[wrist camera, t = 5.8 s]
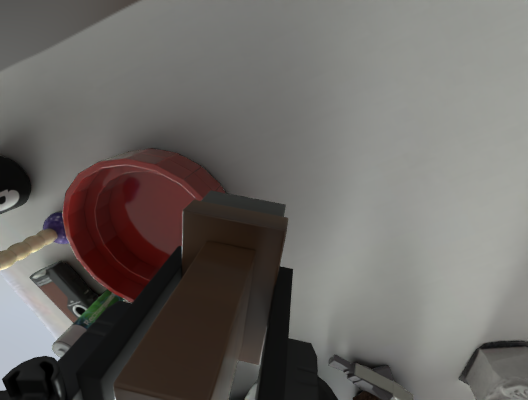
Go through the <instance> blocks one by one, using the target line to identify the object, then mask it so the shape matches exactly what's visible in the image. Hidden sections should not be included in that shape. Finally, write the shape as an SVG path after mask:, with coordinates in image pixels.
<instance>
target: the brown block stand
mask: <svg viewBox="0 0 528 400" xmlns="http://www.w3.org/2000/svg"><path fill="white" fill-rule="evenodd" d="M285 207H286V205H285V204H280V203H275V202H269V201H264V200H259V199H253V198H248V197H243V196H237V195H232V194H227V193H221V192H216V191H210V192H209V193H208V194H207V195H206V196H205V197H204V198H203V199H202V200H201V201H198V200H193V201H192V202H191V203H190V204H189V205H188V206H187V207H186V208H185V209H183V212H182V279H181V280H180V282H179V284H178V285H177V287H176V288H175V290H174V291H173V293H172V294H171V296H170V297H169V299H168V300H167V302H166V303H165V305H164V307H163V308H162V310H161V311H160V313H159V314H158V316H157V317H156V319H155V320H154V322H153V323H152V325H151V326H150V328H149V329H148V331H147V333H146V334H145V336H144V337H143V339H142V340H141V342H140V343H139V345H138V346H137V348H136V349H135V351H134V352H133V354H132V356H131V357H130V359H129V360H128V362H127V363H126V365H125V366H124V368H123V369H122V371H121V372H120V374H119V375H118V377H117V378H116V380H115V382H114V384H113V389H114V396H115V400H228V399H229V395H230V391H231V387H232V383H233V379H234V375H235V371H236V367H237V363H238V360H239V361H243V362H247V363H252V364H256V365H260V361H261V356H262V351H263V345H264V339H265V333H266V327H267V322H268V317H269V312H270V307H271V302H272V297H273V292H274V287H275V285H276V282H277V277H278V272H279V267H280V262H281V257H282V252H283V247H284V242H285V237H286V232H287V225H288V218H287V217H284V213H285Z"/></svg>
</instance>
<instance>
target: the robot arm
mask: <svg viewBox="0 0 528 400" xmlns="http://www.w3.org/2000/svg"><path fill="white" fill-rule="evenodd" d="M292 275H293V269H290V268H285V267H281V266H280V267H279V272H278V277H277V282H276V285H275V287H274V292H273V297H272V302H271V307H270V312H269V317H268V322H267V327H266V333H265V339H264V345H263V352H262V358H261V364H260V370H259V376H258V382H257V389H256V395H255V400H319V392H318V375H317V372H318V370H317V356H316V354H315V351H314V349H313V347H312V344H311V343H307V342H303V341H298V340H294V339H289V338H288V335H289V320H290V305H291V290H292ZM181 279H182V246H178V247H177V248H176V250H175V251H174V252H173V253H172V254H171V256H170V257H169V258H168V259H167V261H166V262H165V263H164V264H163V266H162V267H161V268H160V269H159V270H158V272H157V273H156V274H155V275H154V277H153V278H152V279H151V280H150V282H149V283H148V284H147V285H146V286H145V288H144V289H143V290H142V291H141V293H140V294H139V295H138V296H137V298H136V299H135V300H134V301H133V303H127V302H123V301H117V302H116V303H114V304H113V305H111V306H109V307H108V308H106V309H105V310H104V311H103V312H102V313H101V314H100V316H99V317H98V318H97V319H96V320H95V322H94V323H92V324H91V325H90V327H89V328H88V329H87V331H86V332H84V333H83V334H82V335H81V336H80V337H79V339H78V340H77V341H76V342H75V343H74V344H73V345H72V346H71V347H70V348H69V350H68V351H67V352H66V353H65V354H64V355H63V356H62V357H61V358H60V360H59V361H58V362H57V361H56V360H55V358H52V357H47V356H42V357H36V358H33V359H30V360H28V361H25V362H23V363H21V364H20V365H18V366H17V367H15V368H13V369H12V370H11V371H10V372H9V373H8V374H7V375H6V376H5V377H4V378H3V379H2V380H3V383H4V385H5V387H6V390H5V391H0V400H115V396H114V389H113V384H114V382H115V380H116V378H117V377H118V375H119V374H120V372H121V371H122V369H123V368H124V366H125V365H126V363H127V362H128V360H129V359H130V357H131V356H132V354H133V352H134V351H135V349H136V348H137V346H138V345H139V343H140V342H141V340H142V339H143V337H144V336H145V334H146V333H147V331H148V329H149V328H150V326H151V325H152V323H153V322H154V320H155V319H156V317H157V316H158V314H159V313H160V311H161V310H162V308H163V307H164V305H165V303H166V302H167V300H168V299H169V297H170V296H171V294H172V293H173V291H174V290H175V288H176V287H177V285H178V284H179V282H180V280H181Z"/></svg>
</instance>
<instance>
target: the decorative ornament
mask: <svg viewBox="0 0 528 400" xmlns="http://www.w3.org/2000/svg"><path fill="white" fill-rule="evenodd" d="M459 380H461V381H463V382H464V383H466V384H468V385H470V388H471V390H472V392H473V394H474V396H475V398H476V400H528V342H524V341H521V342H519V341H513V342H512V341H511V342H496V343H489V344H484V345H483V346H482V347H479V348H478V349H477V350H476V351H475V353H474V354H473V356H472V357H471V359H470V361H469V362H468V364H467V366H466V367H465V370H464V371H463V373H462V375H461V376H460V377H459Z"/></svg>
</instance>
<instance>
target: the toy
mask: <svg viewBox="0 0 528 400" xmlns="http://www.w3.org/2000/svg"><path fill="white" fill-rule="evenodd" d="M257 382H258V380H257V381H256V382H255V383H254V385H253V386H252V388H251V389H250V390H249V392H248V393H247V395H246V397H245V399H244V400H255V395H256V389H257ZM318 392H319V400H338V399H337V397H336V395H335V394H334V392H333V391H332V389H331V388H330V387H329V386H328V385H327V383H326V382H325V381H323V380H322V379H321V378H319V377H318Z"/></svg>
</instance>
